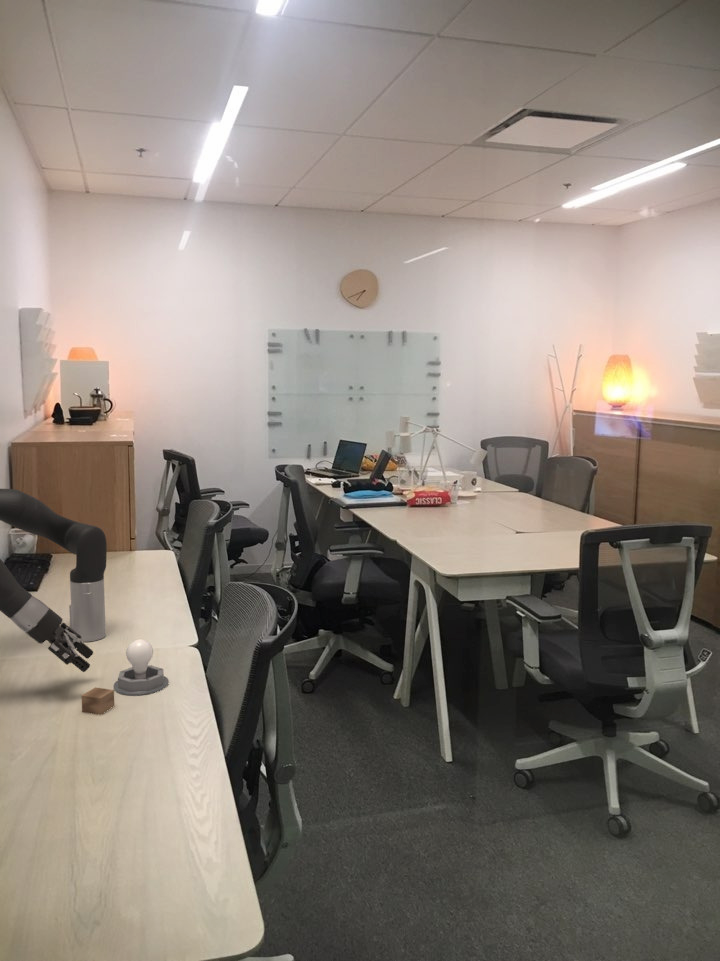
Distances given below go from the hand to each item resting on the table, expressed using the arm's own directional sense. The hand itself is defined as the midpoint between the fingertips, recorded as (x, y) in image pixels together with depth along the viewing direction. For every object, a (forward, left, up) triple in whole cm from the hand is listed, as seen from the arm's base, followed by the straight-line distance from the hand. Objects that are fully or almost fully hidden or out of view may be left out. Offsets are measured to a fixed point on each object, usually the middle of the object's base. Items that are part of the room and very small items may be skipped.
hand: (89, 662), depth 186 cm
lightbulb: (+9, +8, -6) cm, 13 cm away
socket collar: (+9, +8, -7) cm, 14 cm away
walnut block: (+12, -7, -7) cm, 15 cm away
